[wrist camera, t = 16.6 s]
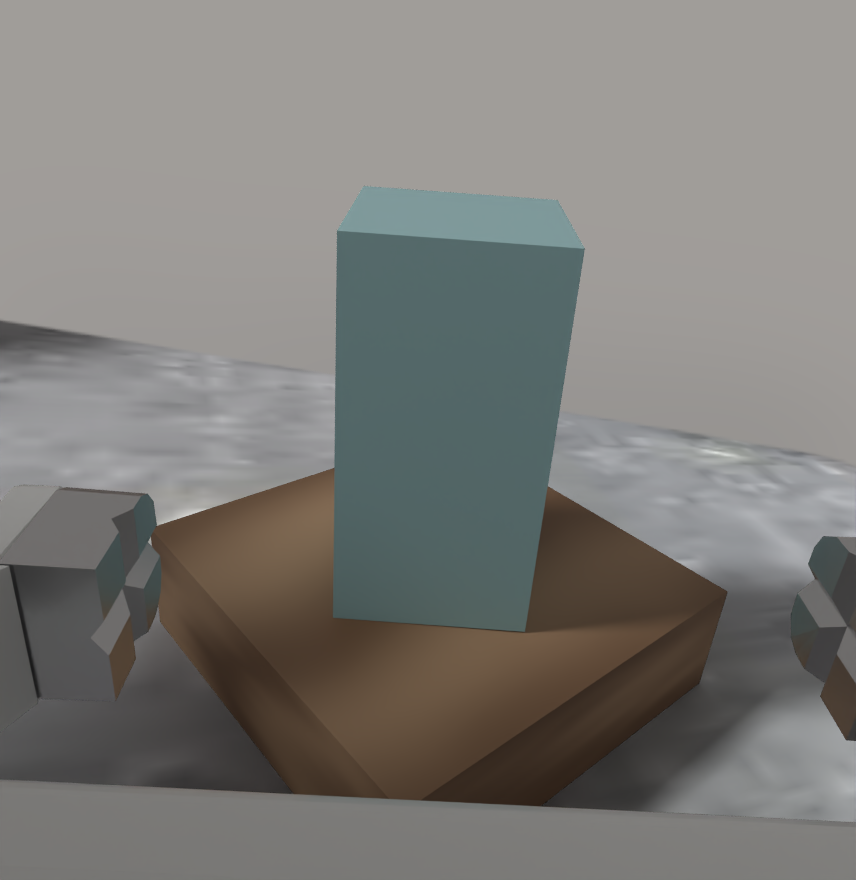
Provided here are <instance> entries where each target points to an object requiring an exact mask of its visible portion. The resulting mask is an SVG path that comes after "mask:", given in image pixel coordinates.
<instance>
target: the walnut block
mask: <svg viewBox="0 0 856 880" xmlns="http://www.w3.org/2000/svg"><path fill="white" fill-rule="evenodd" d="M334 474H335V468H333V469H330V470H327V471H324V472H321V473H318V474H315V475H311V476H308V477H305V478H302V479H299V480H296V481H293V482H290V483H287V484H284V485H281V486H278V487H275V488H272V489H269V490H266V491H262V492H259V493H256V494H253V495H250V496H247V497H244V498H241V499H238V500H235V501H232V502H229V503H226V504H223V505H220V506H217V507H213V508H210V509H207V510H204V511H201V512H198V513H195V514H192V515H189V516H186V517H183V518H180V519H177V520H174V521H171V522H168V523H164V524H161V525H158V526H156V527H155V529H154V531H153V533H152V535H151V541H152V547H153V548H154V550H155V551H156V552H157V553H158V554H159V555H160V561H161V572H162V574H161V593H160V598H159V602H158V606H159V615H160V622H161V623H162V625H163V626H164V627H165V628H166V630H167V631H168V632H169V634H170V635H171V636H172V637H173V639H174V640H175V641H176V643H177V644H178V645H179V647H180V648H181V649H182V650H183V652H184V653H185V654H186V656H187V657H188V658H189V659H190V661H191V662H192V663H193V665H194V666H195V667H196V668H197V670H198V671H199V672H200V674H201V675H202V676H203V677H204V679H205V680H206V681H207V683H208V684H209V685H210V687H211V688H212V689H213V690H214V692H215V693H216V694H217V696H218V697H219V698H220V699H221V701H222V702H223V703H224V705H225V706H226V707H227V708H228V710H229V711H230V712H231V714H232V715H233V716H234V718H235V719H236V720H237V721H238V723H239V724H240V725H241V727H242V728H243V729H244V730H245V732H246V733H247V734H248V736H249V737H250V738H251V739H252V741H253V742H254V743H255V745H256V746H257V747H258V748H259V750H260V751H261V752H262V754H263V755H264V756H265V758H266V759H267V760H268V761H269V763H270V764H271V765H272V767H273V768H274V769H275V770H276V772H277V773H278V774H279V776H280V777H281V778H282V779H283V781H284V782H285V783H286V785H287V786H288V787H289V788H290V790H291V791H292V792H293V794H300V795H320V796H340V797H359V798H379V799H399V800H419V801H440V802H460V803H481V804H501V805H522V806H541V805H543V804H544V803H545V802H547V801H548V800H549V799H550V798H552V797H553V796H554V795H556V794H557V793H558V792H559V791H561V790H562V789H563V788H565V787H566V786H567V785H568V784H570V783H571V782H572V781H574V780H575V779H576V778H577V777H579V776H580V775H581V774H583V773H584V772H585V771H586V770H588V769H589V768H590V767H592V766H593V765H594V764H596V763H597V762H598V761H599V760H601V759H602V758H603V757H605V756H606V755H607V754H608V753H610V752H611V751H612V750H614V749H615V748H616V747H617V746H619V745H620V744H621V743H623V742H624V741H625V740H626V739H628V738H629V737H630V736H632V735H633V734H634V733H635V732H637V731H638V730H639V729H641V728H642V727H643V726H644V725H646V724H647V723H648V722H650V721H651V720H652V719H653V718H655V717H656V716H657V715H659V714H660V713H661V712H662V711H664V710H665V709H666V708H668V707H669V706H670V705H671V704H673V703H674V702H675V701H677V700H678V699H679V698H681V697H682V696H683V695H684V694H686V693H687V692H688V691H690V690H691V689H692V688H693V687H695V686H696V685H697V684H699V682H700V679H701V676H702V673H703V669H704V666H705V663H706V660H707V657H708V653H709V650H710V647H711V644H712V641H713V637H714V634H715V631H716V628H717V624H718V621H719V618H720V615H721V612H722V608H723V605H724V602H725V599H726V596H727V591H726V590H724V589H722V588H721V587H719V586H717V585H715V584H714V583H712V582H710V581H709V580H707V579H705V578H703V577H702V576H700V575H698V574H697V573H695V572H693V571H692V570H690V569H688V568H686V567H685V566H683V565H681V564H680V563H678V562H676V561H674V560H673V559H671V558H669V557H668V556H666V555H664V554H663V553H661V552H659V551H657V550H656V549H654V548H652V547H651V546H649V545H647V544H645V543H644V542H642V541H640V540H639V539H637V538H635V537H634V536H632V535H630V534H628V533H627V532H625V531H623V530H622V529H620V528H618V527H616V526H615V525H613V524H611V523H610V522H608V521H606V520H604V519H603V518H601V517H599V516H598V515H596V514H594V513H593V512H591V511H589V510H587V509H586V508H584V507H582V506H581V505H579V504H577V503H575V502H574V501H572V500H570V499H569V498H567V497H565V496H564V495H562V494H560V493H558V492H557V491H555V490H553V489H552V488H550V487H547V494H546V500H545V506H544V513H543V519H542V526H541V532H540V539H539V545H538V551H537V558H536V564H535V571H534V577H533V583H532V590H531V596H530V603H529V609H528V615H527V622H526V628H525V632H519V631H506V630H492V629H479V628H465V627H452V626H438V625H424V624H411V623H397V622H384V621H370V620H356V619H343V618H333V567H334Z"/></svg>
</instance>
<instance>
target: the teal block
mask: <svg viewBox="0 0 856 880" xmlns="http://www.w3.org/2000/svg"><path fill="white" fill-rule="evenodd" d="M584 250H585V248H584V246H583V245H582V243H581V241H580V240H579V238H578V236H577V234H576V232H575V230H574V229H573V227H572V225H571V223H570V221H569V220H568V218H567V216H566V214H565V213H564V211H563V209H562V207H561V206H560V204H559V202H558V200H548V199H534V198H519V197H506V196H493V195H479V194H465V193H451V192H438V191H424V190H409V189H397V188H382V187H369V186H364V187H363V188H362V190H361V192H360V193H359V195H358V196H357V198H356V200H355V202H354V203H353V205H352V207H351V208H350V210H349V212H348V213H347V215H346V217H345V218H344V220H343V222H342V223H341V225H340V227H339V229H338V230H337V288H336V381H335V474H334V567H333V618H343V619H356V620H370V621H384V622H397V623H411V624H424V625H438V626H452V627H465V628H479V629H492V630H506V631H519V632H525V628H526V622H527V615H528V609H529V603H530V596H531V590H532V583H533V577H534V571H535V564H536V558H537V551H538V545H539V539H540V532H541V526H542V519H543V513H544V506H545V500H546V494H547V487H548V481H549V474H550V468H551V462H552V455H553V449H554V442H555V436H556V430H557V423H558V417H559V410H560V404H561V398H562V391H563V384H564V378H565V372H566V365H567V358H568V353H569V345H570V340H571V333H572V327H573V320H574V314H575V308H576V301H577V295H578V289H579V282H580V276H581V269H582V263H583V257H584Z"/></svg>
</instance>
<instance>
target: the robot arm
mask: <svg viewBox="0 0 856 880" xmlns="http://www.w3.org/2000/svg"><path fill="white" fill-rule="evenodd" d="M156 525H157V523H156V516H155V509H154V502H153V500H152V499H151V498H150V496H149V495H148V494H145V493H132V492H120V491H108V490H95V489H83V488H70V487H65V488H63V487H60V486H44V485H19V486H14V487H13V488H12V489H11V490H10V491H9V492H8V493H7V494H6V495H5V496H4V498H3V499H2V500H1V501H0V732H1V731H3V730H4V729H5V728H7V727H8V726H9V725H10V724H12V723H13V722H14V721H16V720H17V719H18V718H20V717H21V716H22V715H23V714H25V713H26V712H27V711H29V710H30V709H31V708H32V707H34V706H35V705H36V704H38V699H54V700H92V701H116V699H117V697H118V695H119V693H120V691H121V689H122V687H123V685H124V682H125V680H126V678H127V676H128V674H129V672H130V670H131V668H132V666H133V663H134V661H135V659H136V656H135V648H134V641H135V640H136V639H138V638H139V637H141V636H143V635H144V634H146V633H147V632H148V631H149V629H150V627H151V624H152V622H153V620H154V618H155V615H156V611H157V607H158V602H159V598H160V593H161V574H162V572H161V561H160V555H159V554H158V553H157V552H156V551H155V550H154V548H153V547H152V546H151V545H150V544H149V543H148V540H149V539H150V537H151V535H152V533H153V531H154V529H155V527H156ZM808 565H809V567H810V569H811V571H812V573H813V575H814V578H815V580H814V581H812V582H811V583H810V584H808V585H807V586H806V587H805V588H803V589H802V590H801V591H800V592H798V594H797V597H796V600H795V603H794V607H793V610H792V613H791V638H792V642H793V645H794V649H795V652H796V655H797V656H798V658H799V660H800V662H801V664H802V665H803V667H804V669H806V670H807V671H808V672H810V673H811V674H813V675H814V676H816V677H817V678H818V679H820V680H821V681H823V682H824V683H825V684H824V687H823V690H822V693H821V696H820V697H821V698H822V700H823V702H824V704H825V705H826V707H827V709H828V710H829V712H830V714H831V715H832V717H833V719H834V721H835V722H836V724H837V726H838V727H839V729H840V731H841V732H842V734H843V736H844V738H845V739H846V740H850V741H856V537H829V536H823V537H822V539H821V540H820V541H819V542H818V543H817V545H816V546H815V547H814V550H813V552H812V555H811V558H810V560H809V563H808ZM0 880H856V822H841V821H821V820H802V819H782V818H763V817H743V816H724V815H705V814H685V813H665V812H645V811H624V810H604V809H583V808H563V807H542V806H522V805H501V804H481V803H460V802H440V801H419V800H399V799H379V798H359V797H340V796H320V795H300V794H281V793H261V792H241V791H222V790H202V789H182V788H162V787H143V786H123V785H103V784H84V783H64V782H44V781H25V780H5V779H0Z"/></svg>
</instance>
